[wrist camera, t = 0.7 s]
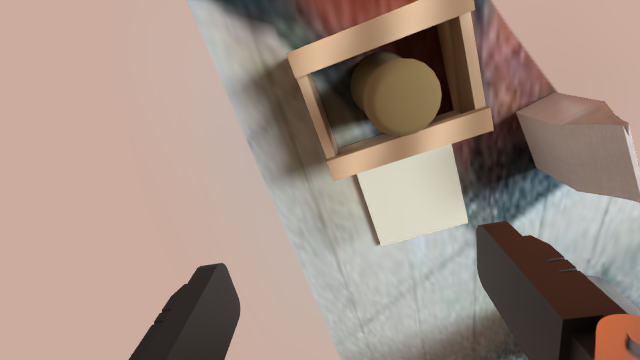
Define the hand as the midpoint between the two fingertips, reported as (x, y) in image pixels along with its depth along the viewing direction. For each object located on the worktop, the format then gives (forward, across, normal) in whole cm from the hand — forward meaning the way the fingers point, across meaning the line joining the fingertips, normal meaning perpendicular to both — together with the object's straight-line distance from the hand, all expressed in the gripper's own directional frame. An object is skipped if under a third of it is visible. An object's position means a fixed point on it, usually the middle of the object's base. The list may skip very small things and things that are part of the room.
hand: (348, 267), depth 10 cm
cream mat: (+23, -6, +10) cm, 26 cm away
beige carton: (+24, -20, +5) cm, 31 cm away
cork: (+24, -5, -3) cm, 24 cm away
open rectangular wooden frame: (+23, -5, -3) cm, 24 cm away
